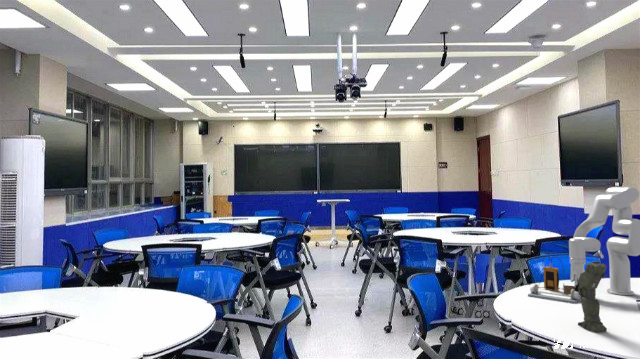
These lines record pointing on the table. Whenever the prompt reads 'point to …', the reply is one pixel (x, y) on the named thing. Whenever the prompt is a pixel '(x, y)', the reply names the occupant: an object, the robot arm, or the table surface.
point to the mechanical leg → (591, 296)
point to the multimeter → (551, 277)
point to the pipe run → (554, 295)
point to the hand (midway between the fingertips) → (579, 294)
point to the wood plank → (568, 289)
